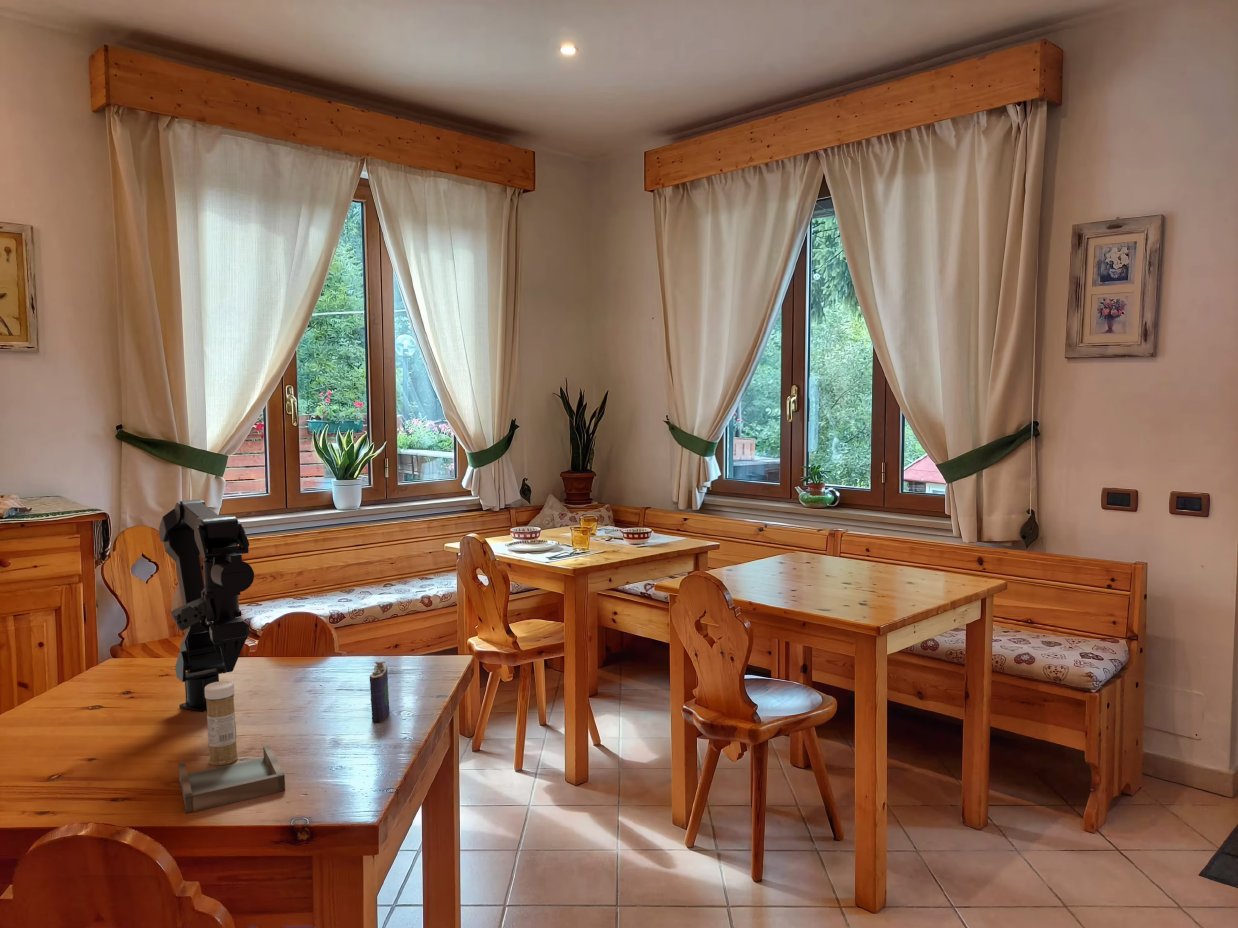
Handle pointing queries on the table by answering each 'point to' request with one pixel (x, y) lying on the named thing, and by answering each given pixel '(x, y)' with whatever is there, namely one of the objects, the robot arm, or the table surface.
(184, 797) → the tray
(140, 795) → the table surface
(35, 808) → the table surface
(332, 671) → the table surface
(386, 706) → the flask
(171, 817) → the table surface
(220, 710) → the sprinkles bottle
